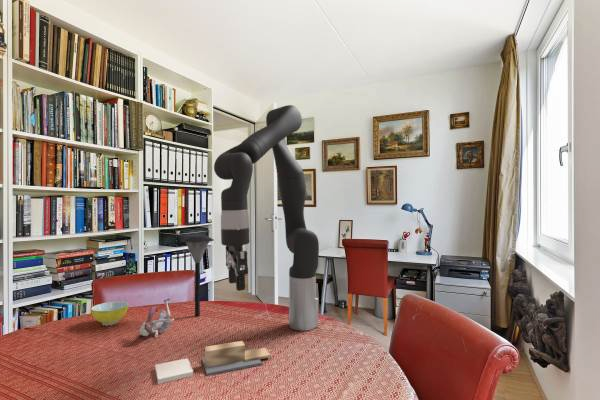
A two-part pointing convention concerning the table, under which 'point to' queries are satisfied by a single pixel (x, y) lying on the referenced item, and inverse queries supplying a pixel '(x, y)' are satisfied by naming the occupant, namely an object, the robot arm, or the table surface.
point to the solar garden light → (197, 261)
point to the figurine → (156, 322)
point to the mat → (230, 366)
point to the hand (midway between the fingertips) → (236, 286)
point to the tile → (173, 370)
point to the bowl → (109, 312)
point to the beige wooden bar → (232, 353)
